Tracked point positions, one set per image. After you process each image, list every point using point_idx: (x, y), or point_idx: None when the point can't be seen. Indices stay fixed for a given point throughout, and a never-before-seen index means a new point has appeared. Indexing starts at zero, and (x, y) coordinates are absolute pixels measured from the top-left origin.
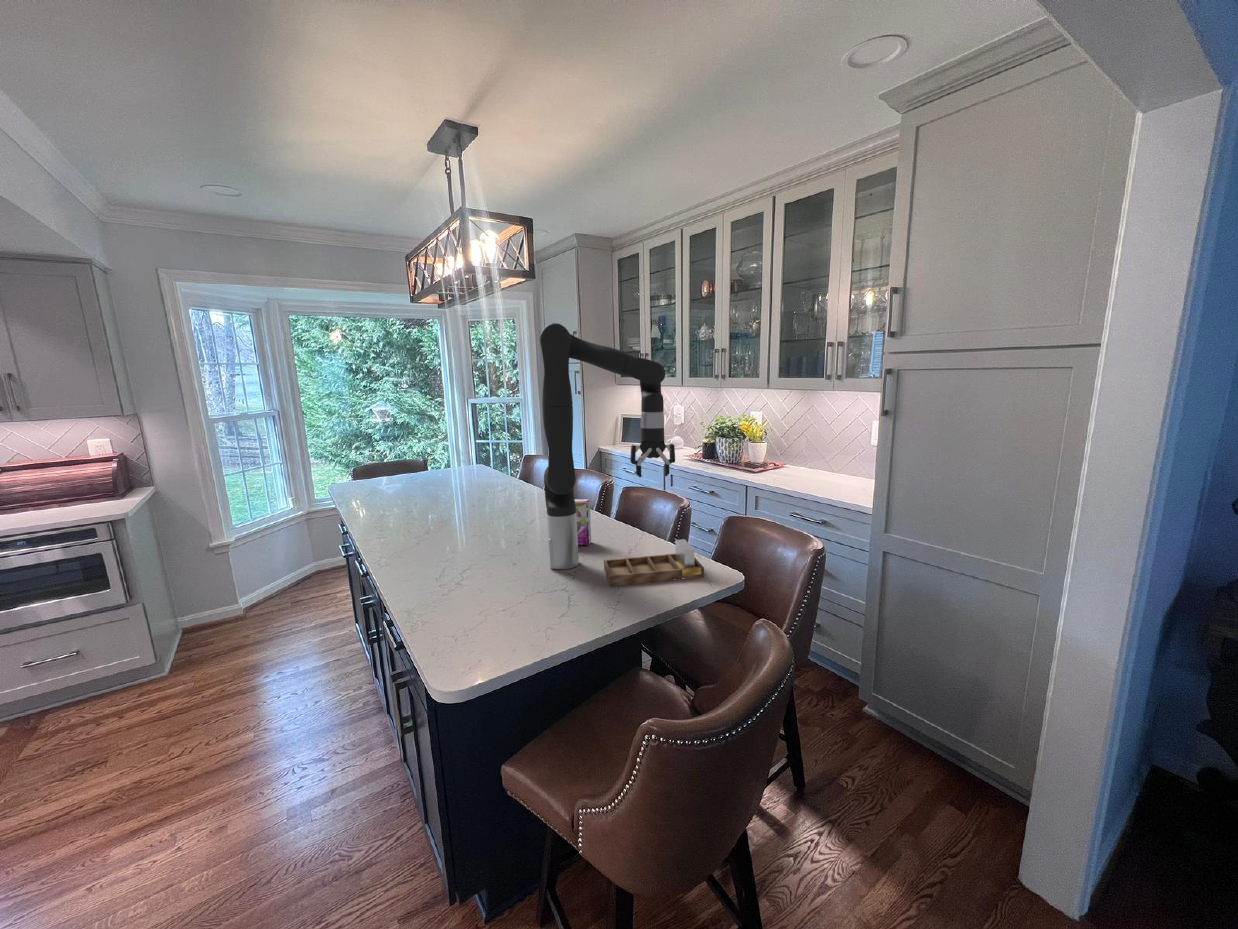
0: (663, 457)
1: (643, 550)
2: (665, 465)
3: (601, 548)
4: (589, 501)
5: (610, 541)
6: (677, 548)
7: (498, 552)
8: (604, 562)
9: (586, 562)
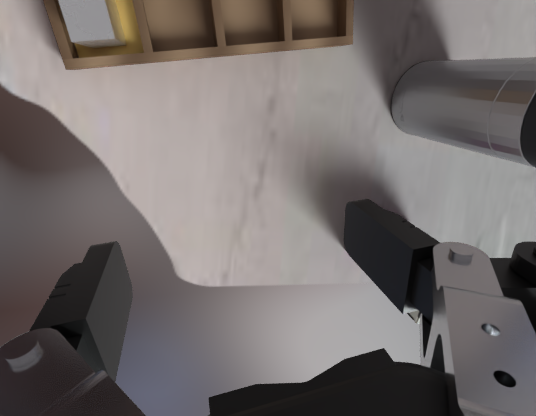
0: (81, 413)
1: (224, 184)
2: (85, 317)
3: (327, 206)
4: (414, 314)
5: (301, 253)
6: (110, 6)
7: (518, 194)
8: (352, 23)
9: (372, 108)
